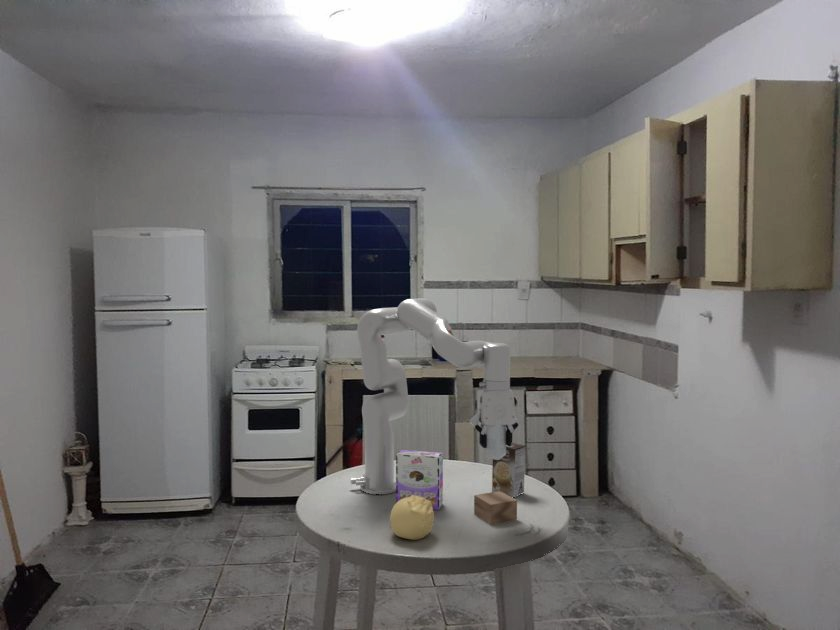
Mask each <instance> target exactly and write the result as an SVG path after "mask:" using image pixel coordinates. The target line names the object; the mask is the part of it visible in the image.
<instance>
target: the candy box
mask: <svg viewBox="0 0 840 630" xmlns="http://www.w3.org/2000/svg"><path fill="white" fill-rule="evenodd" d="M395 465H396V466H395V477H396V478H395V480H396V481H395V482H396V491H395V493H396V497H395V498H396V500H395V502H396V503H397V502H398V501H399V500H401V499H403V498H406V497H410V496H412V495H415V496H419V497H424V498H425V499H427V500H430V501H431V503H432V508H433V510H437V511H439V510H440V509H441V507H443V505H444V452H440V451H439V452H436V451H426V450H425V451H424V450H423V451H421V450H410V449H400V450H399V452H397V453H396V454H395ZM396 503H395V504H396Z"/></svg>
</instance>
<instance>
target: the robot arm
mask: <svg viewBox="0 0 840 630" xmlns="http://www.w3.org/2000/svg"><path fill="white" fill-rule="evenodd" d="M448 328H449V322H448V319H447V318H446V317H444V316H442V315H441V314H439V313H438V312H437V307H436V305H435V304H434V302H433V301H431V300H430V299H428V298H424V297H420V298H418V297H417V298H406V299H405V300H403V301H401V302H400V303H399V305H398V306H397V307H381V308H374V309H370V310H368V311H366V312H365V313H363V314H362V316H361V317H360V318H359V320H358V323H357V329H356V331H357V332H356V333H357V337H358V338H357V339H358V342H359V348H360V358H361V368H362V379H363V384H364V386H365V387H366V388H367V389H368V390H371V391H379V390H383V392H380V393H377V394H373V395H370V396H369V397H367V398H366V399H365V400H364V402H363V403H362V406H361V415H362V419H363V420H362V421H363V425H364V426H363V427H364V473H362V476H360V477H351V478H350V484H351V485H355V486H360V487H359V488H360V490H362V491H361V492H363V491H364V492H363V493H365V492H366V493H365V494H368V493H369V494H368V495H376V494H379V495H381V494H382V495H389V494H393V493H396V481H394V480H395V473H394V472H395V471H394V470H395V467H394V465H395V463H394V462H395V461H394V460H395V448H394V447H395V444H394V443H395V442H394V441H395V440H394V439H395V438H394V437H395V436H394V430H393V428H392V425H391V421H394V420H398V419H400V418H402V417H404V416H405V415H406V413H407V412H408V409H409V393H408V392H409V391H408V383H407V374H406V371H405V367H404V366H403V365H402V363H401V362H400V361H399V360H398V359H395V358H388V353H387V347H386V344H385V341H384V339H383V338H382V337H381V336H382V335H386V334H387V335H389V334H398V333H404V332H406V331H409V330H412V331H414V332H415V333H417V334H418V335H420V336H422V337H423V338H424V339H426V340H427V341H429V342H430V344H431V346H432V347H433V349H434V351H435V352H436V354H438V355H439V356H440V357H441V358H442V359H444V360H445V361H447V362H448V363H450V364H452V365H453V366H455V367H457V368H460V369H469V368H473V367H480V366H483V379H482V381H480V382H479V384H478V386H479V388H482V389H481V391H480V396H479V403H478V411H477V413H476V414H474V415H473V416H472V417H471V418H470V419H469V423H470V424H471V425H472V426H473V427H474V429H475V430H477V432H478V434H479V439H478V440H479V445H480V446H481V448H483V449H486V447H487V435H486V430H487V428H488V426H494V425H495V419H499V418H500V425H501V426H504V425H506V445H508V446H511V443H513V434H514V433H515V430H516V429H517V427H519V425H520V424H521V423H522V421H523V417H522V416H521V415H520V414H518V413H517V412H516V405H515V397H514V396H515V395H514V392H513V391H514V390H512V389H511V346H510V345H509V344H507V343H503V342H489V341H485V340H481V339H480V340H478V339H477V340H470V341H464V342H463V341H462V340H460V339H458V338H457V337H455V336H454V335H453V334H451V333H450V332H449V331H448ZM477 422H479V423H480V425H479V424H478V423H477Z"/></svg>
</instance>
